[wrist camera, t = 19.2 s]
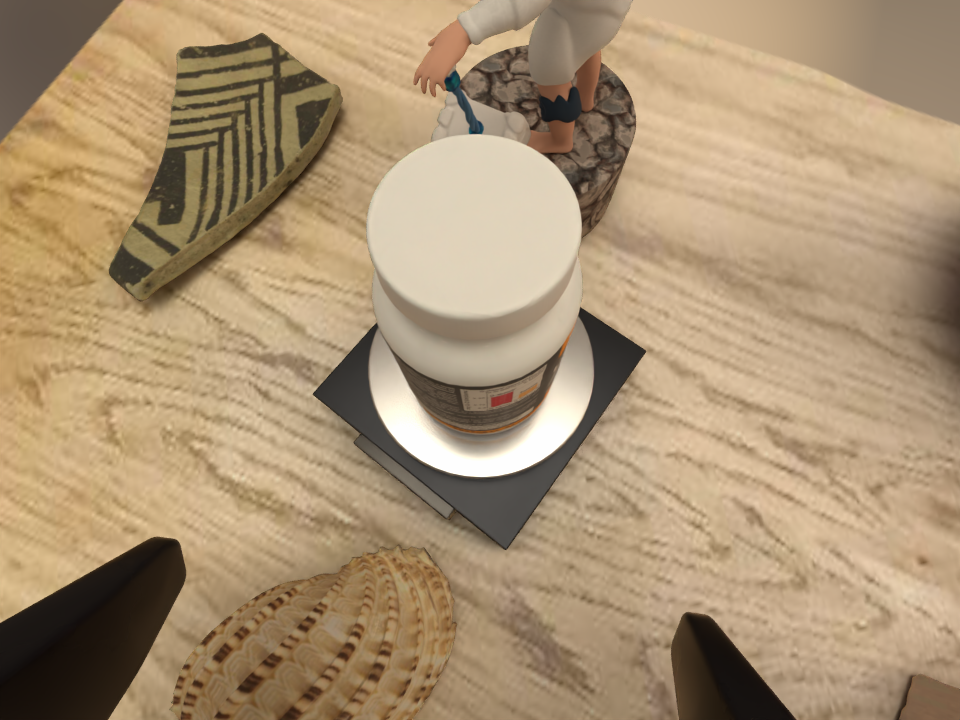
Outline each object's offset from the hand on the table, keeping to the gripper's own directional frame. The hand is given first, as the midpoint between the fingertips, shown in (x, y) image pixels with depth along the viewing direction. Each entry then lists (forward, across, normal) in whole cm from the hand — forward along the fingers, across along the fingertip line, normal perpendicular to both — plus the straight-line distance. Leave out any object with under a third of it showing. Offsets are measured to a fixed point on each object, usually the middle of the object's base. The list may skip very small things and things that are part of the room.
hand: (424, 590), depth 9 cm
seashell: (+7, +4, +12) cm, 15 cm away
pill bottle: (+12, 0, +2) cm, 12 cm away
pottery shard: (+22, +17, -4) cm, 28 cm away
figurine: (+23, -1, -4) cm, 24 cm away
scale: (+15, 0, +4) cm, 15 cm away
